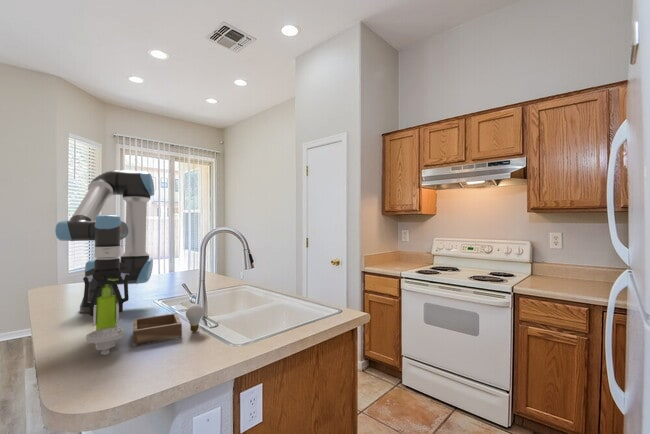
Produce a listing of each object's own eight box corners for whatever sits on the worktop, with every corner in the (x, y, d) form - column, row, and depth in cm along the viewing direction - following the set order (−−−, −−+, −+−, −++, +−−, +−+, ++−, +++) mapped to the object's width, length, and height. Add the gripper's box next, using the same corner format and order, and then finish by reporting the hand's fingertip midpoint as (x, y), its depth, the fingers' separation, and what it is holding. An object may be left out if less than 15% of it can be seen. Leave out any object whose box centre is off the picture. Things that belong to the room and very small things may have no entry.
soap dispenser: (108, 337, 109) (109, 279, 109) (91, 336, 110) (93, 278, 110) (122, 331, 114) (123, 276, 115) (106, 330, 116) (107, 276, 116)
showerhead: (111, 335, 91) (78, 335, 91) (111, 360, 91) (77, 360, 91) (132, 324, 100) (102, 324, 101) (132, 347, 100) (101, 347, 101)
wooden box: (132, 333, 113) (132, 319, 113) (176, 326, 121) (176, 313, 121) (132, 346, 101) (132, 331, 101) (181, 338, 108) (181, 323, 108)
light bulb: (182, 332, 114) (183, 304, 114) (198, 327, 118) (198, 301, 119) (190, 336, 110) (190, 307, 110) (206, 331, 114) (206, 304, 115)
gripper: (72, 260, 104) (70, 330, 104) (138, 257, 114) (137, 321, 114) (75, 258, 111) (74, 324, 110) (138, 255, 121) (137, 316, 120)
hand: (106, 322), depth 112 cm, fingers closed on soap dispenser, 6 cm apart
